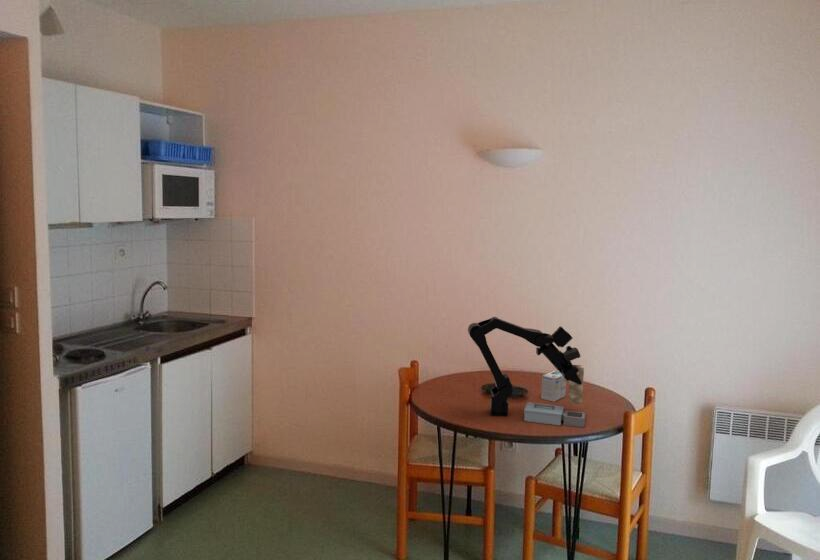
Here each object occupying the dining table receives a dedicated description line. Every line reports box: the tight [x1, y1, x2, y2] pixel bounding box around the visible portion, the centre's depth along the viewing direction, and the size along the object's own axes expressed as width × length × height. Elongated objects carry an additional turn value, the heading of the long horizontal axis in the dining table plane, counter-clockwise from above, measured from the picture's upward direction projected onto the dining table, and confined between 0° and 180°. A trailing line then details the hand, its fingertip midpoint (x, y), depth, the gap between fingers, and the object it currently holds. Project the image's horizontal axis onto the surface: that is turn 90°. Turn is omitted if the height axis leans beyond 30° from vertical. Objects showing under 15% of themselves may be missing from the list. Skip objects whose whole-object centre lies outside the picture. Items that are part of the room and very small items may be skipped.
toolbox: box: [523, 401, 586, 428], centre depth 260 cm, size 23×10×6 cm, turn 72°
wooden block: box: [567, 364, 585, 405], centre depth 266 cm, size 4×4×15 cm
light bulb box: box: [541, 370, 567, 402], centre depth 289 cm, size 11×7×11 cm, turn 141°
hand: (579, 382), depth 266 cm, fingers closed on wooden block, 4 cm apart
